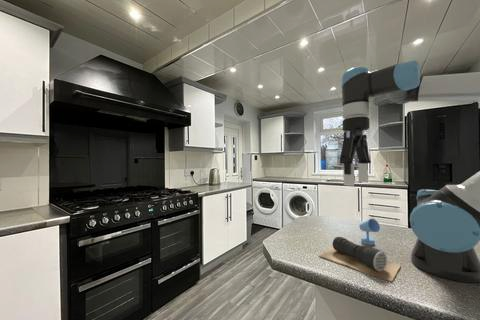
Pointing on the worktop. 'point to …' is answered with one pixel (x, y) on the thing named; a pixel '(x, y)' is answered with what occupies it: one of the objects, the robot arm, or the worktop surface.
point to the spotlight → (369, 230)
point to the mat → (361, 265)
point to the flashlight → (361, 253)
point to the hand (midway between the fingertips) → (356, 183)
